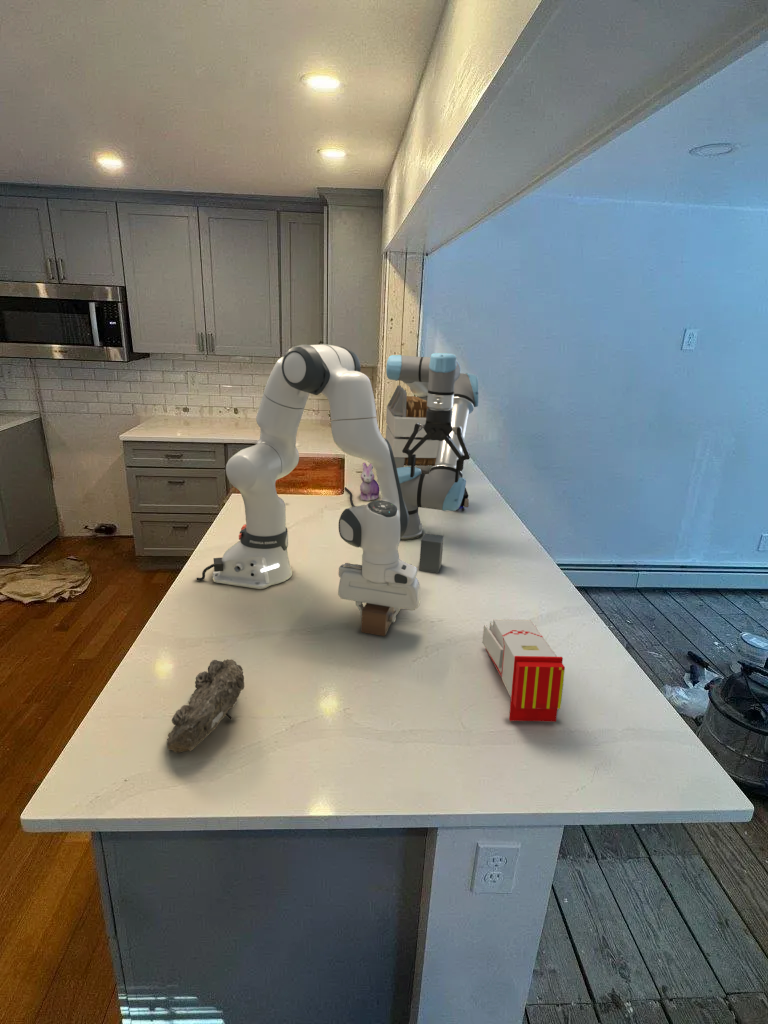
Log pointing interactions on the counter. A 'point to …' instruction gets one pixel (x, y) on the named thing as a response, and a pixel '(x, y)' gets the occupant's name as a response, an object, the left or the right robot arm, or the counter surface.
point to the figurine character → (464, 500)
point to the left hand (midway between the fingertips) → (377, 618)
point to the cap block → (431, 552)
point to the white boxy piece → (408, 429)
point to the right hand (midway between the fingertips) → (434, 478)
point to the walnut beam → (376, 619)
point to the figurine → (368, 484)
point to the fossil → (206, 705)
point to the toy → (526, 669)
